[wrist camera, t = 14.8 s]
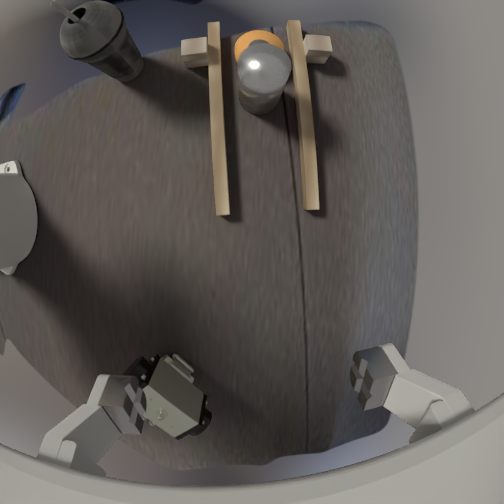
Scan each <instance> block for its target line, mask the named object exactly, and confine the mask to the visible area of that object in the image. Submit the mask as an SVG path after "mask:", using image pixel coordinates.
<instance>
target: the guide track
mask: <svg viewBox="0 0 504 504" xmlns="http://www.w3.org/2000/svg"><path fill="white" fill-rule="evenodd" d="M286 28H287V35H288V42H289V49H290V57H291V65H292V73H293V82H294V91H295V101H296V111H297V122H298V133H299V145H300V159H301V174H302V191H303V209H305V210H317V209H319V193H318V176H317V160H316V147H315V135H314V124H313V114H312V105H311V96H310V87H309V79H308V72H307V64H306V63H319V64H324V63H325V62H326V60H327V59H328V57H329V56H330V54H331V53H332V46H331V41H330V37H329V36H319V35H306V36H305V38H304V41H303V38H302V32H301V26H300V21H299V20H288V23H287V27H286ZM181 56H182V58H183V60H184V63H185V65H186V67H187V68H193V67H201V66H209V95H210V119H211V139H212V157H213V173H214V188H215V202H216V216H217V215H229V214H230V203H229V188H228V173H227V157H226V140H225V123H224V104H223V83H222V61H221V36H220V23H219V22H211V23H208V42H207V38H206V37H201V38H194V39H187V40H182V44H181Z"/></svg>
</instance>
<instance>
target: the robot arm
mask: <svg viewBox="0 0 504 504" xmlns="http://www.w3.org/2000/svg"><path fill="white" fill-rule="evenodd" d="M9 169H10V170H9ZM36 233H37V208H36V203H35V199H34V196H33V193H32V191H31V188H30V187H29V185H28V183H27V182H26V181H25V179H24V178H23V175H22V171H21V167H20V164H19V162H18V161H10V162H7V163H4V164H0V270H1V271H2V272H4V273H5V274H7V275H11V274H13V273H14V271H15V269H16V267H17V265H18V263H19V262H20V261H22V260H23V259H25V258H26V257H27V256H28V254H29V253H30V251H31V249H32V247H33V245H34V242H35V238H36ZM353 361H354V363H355V364H354V365H353V366H352V367H351V371H350V379H351V383H352V386H353V389H354V390H355V391H357V392H359V396H358V400H359V402H360V404H361V406H362V408H363V410H364V411H365V410H369V409H372V408H376V407H380V406H383V405H384V407H385V408H386V409H388V410H389V411H391V412H392V413H394V414H395V415H396V416H398V417H400V418H401V419H402V420H404V421H405V422H407V423H408V424H409V425H411V426H412V427H414V428H415V429H416V430H415V432H414V433H413V435H412V436H411V438H410V440H409V442H410V444H409V445H407V446H404V447H402V448H399V449H397V450H394V451H391V452H389V453H386V454H383V455H380V456H378V457H374V458H371V459H369V460H365V461H362V462H359V463H356V464H352V465H348V466H345V467H341V468H337V469H333V470H329V471H325V472H321V473H316V474H311V475H306V476H301V477H295V478H290V479H284V480H276V481H269V482H260V483H250V484H237V485H212V486H192V485H189V486H188V485H168V484H155V483H145V482H137V481H128V480H122V479H116V478H110V477H106V472H105V471H104V470H103V469H102V468H101V467H100V466H98V465H97V463H98V461H99V460H100V459H101V458H102V457H103V455H105V453H106V452H107V451H108V450H109V449H110V448H111V446H112V445H113V444H114V443H115V442H116V441H117V440H118V439H119V437H120V436H121V435H122V434H137V435H141V433H142V428H143V423H144V421H143V419H142V417H141V416H142V415H143V414H144V413H145V412H146V408H147V401H146V396H145V393H144V391H143V390H142V389H141V388H139V387H138V385H139V381H138V379H137V377H136V376H125V375H105V374H100V375H99V376H98V377H97V379H96V382H95V384H94V387H93V389H92V392H91V394H90V397H89V399H88V402H87V404H83V405H82V406H81V407H79V408H78V409H77V410H75V411H74V412H73V413H72V414H70V415H69V416H68V417H67V418H65V419H64V420H63V421H62V422H60V423H59V424H58V425H56V426H55V427H54V428H53V429H51V430H50V431H49V432H47V433H46V435H45V437H44V440H43V442H42V445H41V447H40V450H39V453H38V456H37V458H35V457H33V456H30V455H27V454H24V453H22V452H19V451H17V450H15V449H12V448H10V447H7V446H5V445H3V444H1V443H0V504H504V393H502V394H501V395H500V396H498V397H497V398H495V399H494V400H492V401H491V402H489V403H488V404H486V405H484V406H483V407H481V408H480V409H478V410H476V411H475V410H474V409H473V408H472V406H471V405H470V403H469V402H468V400H467V399H466V398H465V396H464V395H463V393H462V392H461V391H460V390H459V389H457V388H454V387H452V386H450V385H448V384H446V383H444V382H441V381H439V380H437V379H435V378H433V377H430V376H428V375H426V374H424V373H421V372H419V371H417V370H415V369H411V370H410V368H409V367H408V365H407V364H406V362H405V361H404V360H403V358H402V357H401V355H400V354H399V352H398V351H397V350H396V348H395V347H394V345H393V344H391V343H388V344H385V345H381V346H377V347H373V348H369V349H365V350H361V351H357V352H355V353H354V356H353Z"/></svg>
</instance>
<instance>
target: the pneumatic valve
mask: <svg viewBox="0 0 504 504" xmlns="http://www.w3.org/2000/svg"><path fill="white" fill-rule="evenodd" d="M193 372H194V370H193V367H192V366H191V365H189V364H188V363H187V362H186V361H185V360H184V359H183V358H181V357H180V356H179V355H178V354H175V353H174V354H173V355H172V358H170V357H169V356H168V355H165V356H164V357H163V358H161V357H160V356H159V355H158V354H157V355H156V356H154V357H152V358H151V359H150V361H147V360H146V359H145V358H144V357H143V356H140V357H139V358H138V359H136V360H135V361H134V362H133V363H132V364H131V365H130V366H129V368H128V369H127V370H126V371H125V373H124V374H123V375H125V376H136V377H137V379H138V381H139V385H138V387H139V388H141V389H142V390H143V391H144V393H145V396H146V401H147V408H146V412H145V413H144V414H143V415H142V416H141V417H142V419H143V420H146V419H147V418H148V419H149V420H150V422H149V424H150V425H151V426H154V425H157V426H158V427H160V428H161V429H163V430H164V431H166V432H167V433H168V434H170V435H171V436H173V437H174V438H176V439H177V440H179V439H181V438H183V437H184V436H186V435H188V434H190V435H192V436H196V435H199V434H200V433H202V432H203V431H204V430H205V429H206V428H207V426H208V425H209V423H210V421H211V418H212V413H211V412H210V411H209V410H208V409H206V408H205V406H206V404H207V402H206V399H207V395H205V394H204V393H203V392H202V391H200V390H199V389H198V388H197V387H195V386H194V385H193V384H192V383H193V381H194V378H193V377H192V376H191V373H193Z"/></svg>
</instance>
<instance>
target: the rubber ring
mask: <svg viewBox="0 0 504 504" xmlns="http://www.w3.org/2000/svg"><path fill="white" fill-rule="evenodd" d="M259 43H267V44H272V45H275V46H277V47H279V48H281V49H282V50H284V45H283V43H282V41H281V40H280V39H279V38H278V37H277V36H276V35H274V34H272V33H270V32H267V31H261V30H256V31H250V32H247V33H245V34H244V35H242V36H241V37H240V38H239V39H238V40H237V42H236V44H235V61H236V64H237V62H238V58H239V56H240V54H241V53H242V52H243V51H244V50H245V49H246V48H248V47H249V46H252V45H254V44H259Z"/></svg>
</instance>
